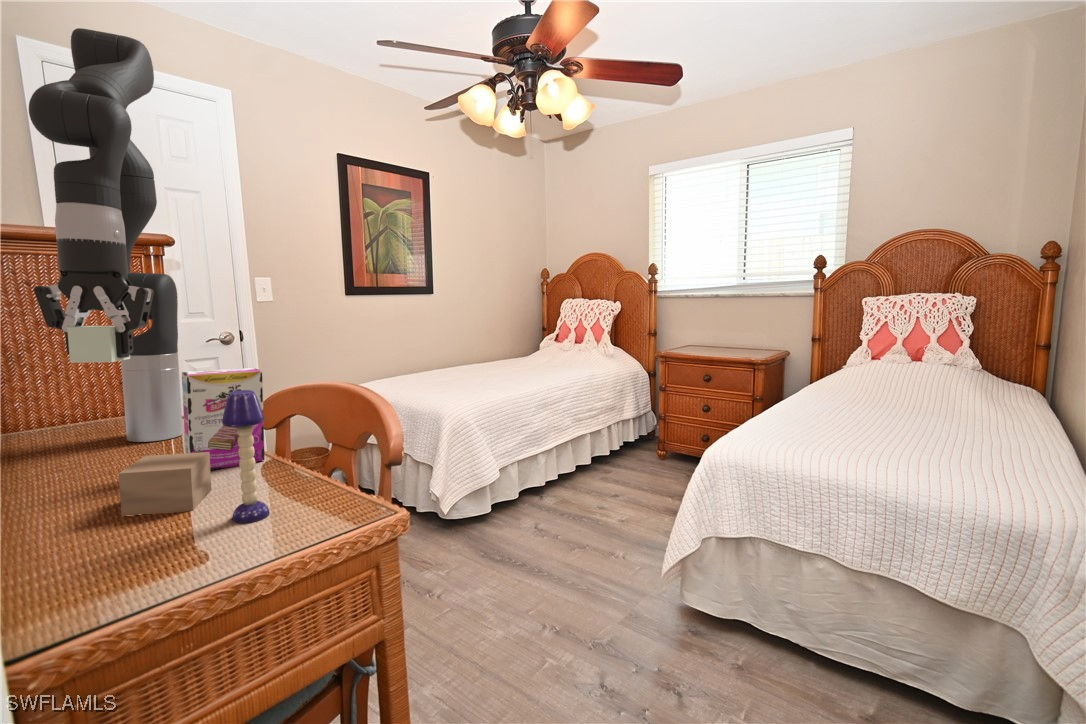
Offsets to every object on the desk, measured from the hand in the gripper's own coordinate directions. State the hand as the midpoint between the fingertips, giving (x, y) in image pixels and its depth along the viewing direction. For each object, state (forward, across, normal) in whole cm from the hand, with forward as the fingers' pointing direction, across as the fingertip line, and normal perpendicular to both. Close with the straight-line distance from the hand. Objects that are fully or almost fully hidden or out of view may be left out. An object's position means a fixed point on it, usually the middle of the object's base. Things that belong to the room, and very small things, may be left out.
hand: (101, 357), depth 75 cm
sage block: (0, 0, 0) cm, 0 cm away
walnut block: (+20, -11, +9) cm, 25 cm away
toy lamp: (+20, -23, +17) cm, 35 cm away
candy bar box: (+20, -13, -8) cm, 25 cm away
